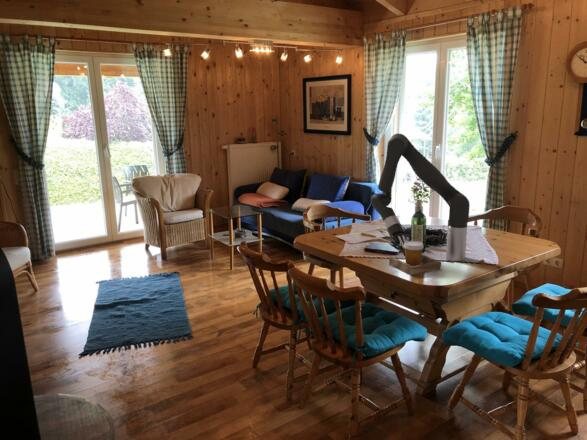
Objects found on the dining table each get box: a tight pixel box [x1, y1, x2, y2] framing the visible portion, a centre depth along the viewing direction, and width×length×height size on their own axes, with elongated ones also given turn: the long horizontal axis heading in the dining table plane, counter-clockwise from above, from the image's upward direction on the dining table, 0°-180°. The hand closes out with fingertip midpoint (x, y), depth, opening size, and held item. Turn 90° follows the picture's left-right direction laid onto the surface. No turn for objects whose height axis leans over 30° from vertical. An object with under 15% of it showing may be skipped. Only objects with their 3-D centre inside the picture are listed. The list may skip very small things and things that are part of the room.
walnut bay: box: [388, 253, 442, 277], centre depth 225 cm, size 18×17×4 cm
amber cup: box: [404, 240, 425, 266], centre depth 225 cm, size 10×10×12 cm
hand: (407, 256), depth 229 cm, fingers closed
